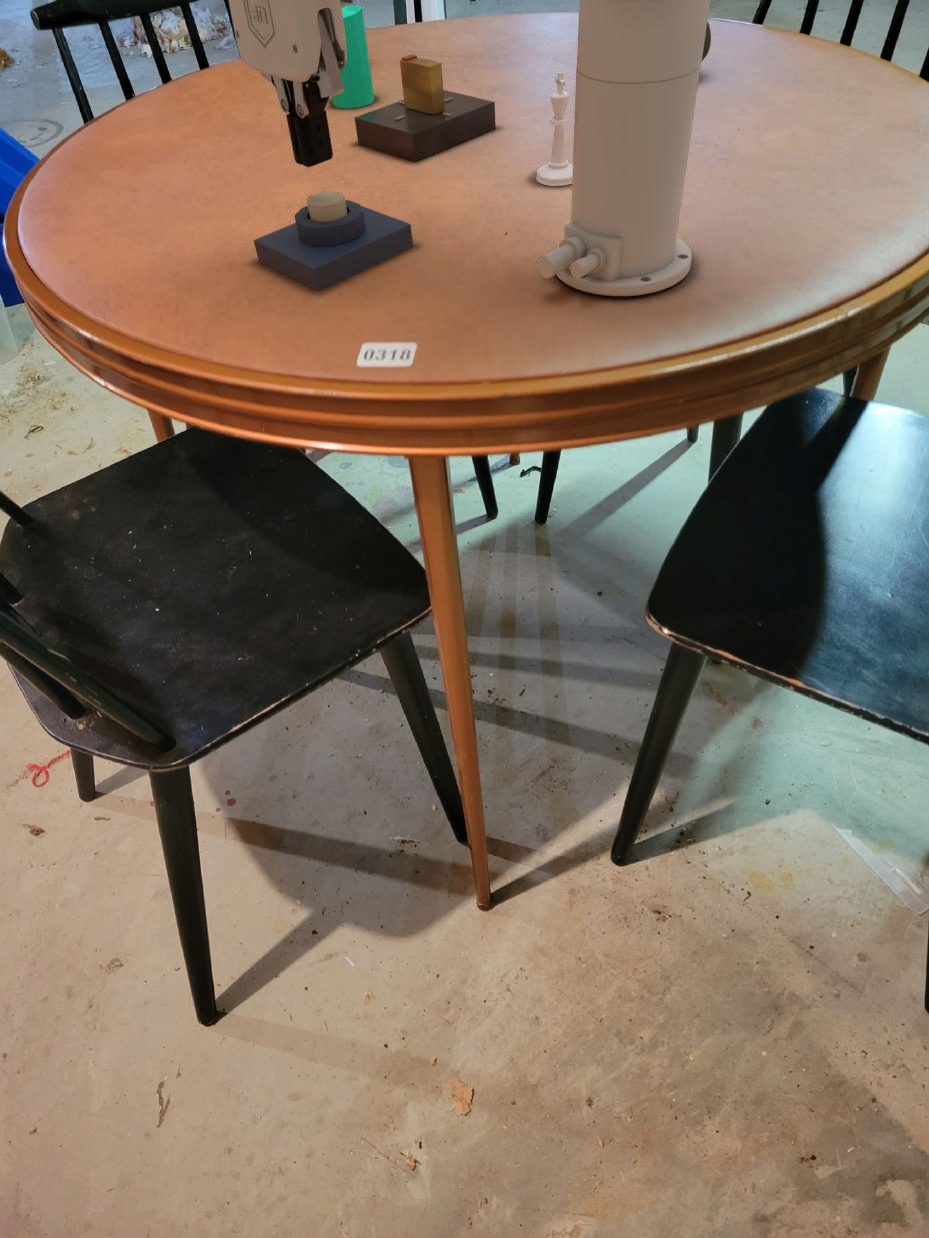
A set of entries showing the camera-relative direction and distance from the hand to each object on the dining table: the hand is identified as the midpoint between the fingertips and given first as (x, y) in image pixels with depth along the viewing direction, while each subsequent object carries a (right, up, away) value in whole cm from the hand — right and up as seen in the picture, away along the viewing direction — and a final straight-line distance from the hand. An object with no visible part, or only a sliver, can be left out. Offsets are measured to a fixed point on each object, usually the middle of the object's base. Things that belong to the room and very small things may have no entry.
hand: (314, 161), depth 71 cm
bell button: (+1, -3, +4) cm, 5 cm away
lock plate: (+9, +20, +28) cm, 35 cm away
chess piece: (+24, +7, +16) cm, 30 cm away
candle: (-2, +32, +40) cm, 51 cm away
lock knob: (+9, +22, +25) cm, 35 cm away
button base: (+1, -6, +6) cm, 9 cm away
